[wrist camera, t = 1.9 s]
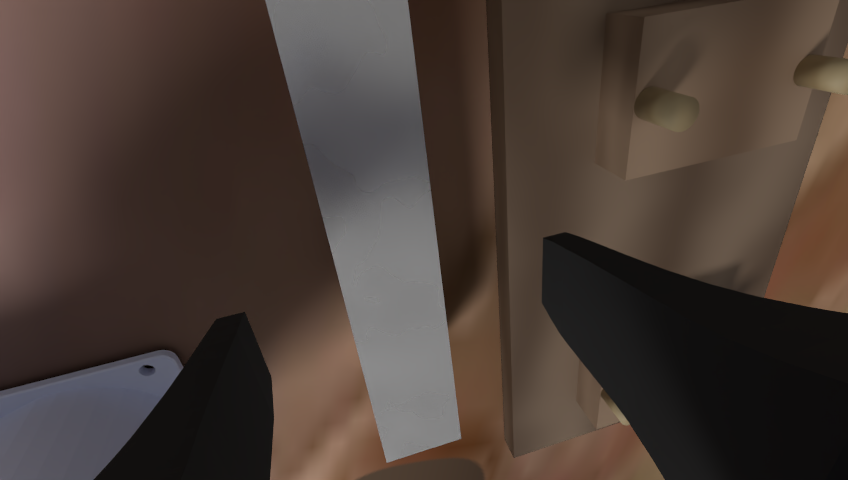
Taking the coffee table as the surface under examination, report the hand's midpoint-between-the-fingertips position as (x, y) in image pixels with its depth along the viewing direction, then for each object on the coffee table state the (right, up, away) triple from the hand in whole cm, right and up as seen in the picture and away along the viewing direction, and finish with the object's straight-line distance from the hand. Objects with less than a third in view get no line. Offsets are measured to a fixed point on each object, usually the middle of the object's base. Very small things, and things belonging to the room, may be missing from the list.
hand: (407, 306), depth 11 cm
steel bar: (-2, +3, +6) cm, 7 cm away
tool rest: (+10, +2, +10) cm, 14 cm away
